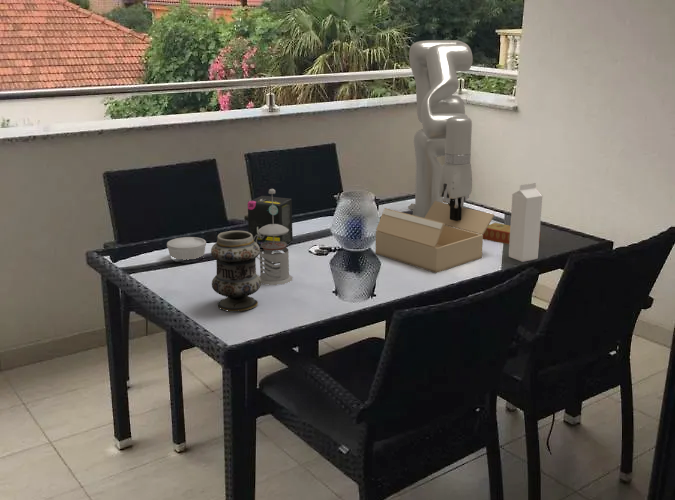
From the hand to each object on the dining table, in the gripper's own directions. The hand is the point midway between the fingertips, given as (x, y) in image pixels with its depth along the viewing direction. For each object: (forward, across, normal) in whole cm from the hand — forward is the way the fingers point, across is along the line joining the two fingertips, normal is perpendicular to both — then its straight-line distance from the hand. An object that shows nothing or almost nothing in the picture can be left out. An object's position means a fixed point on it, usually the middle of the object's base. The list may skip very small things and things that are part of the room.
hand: (455, 219), depth 227 cm
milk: (+9, -8, +19) cm, 23 cm away
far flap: (-1, -1, 0) cm, 2 cm away
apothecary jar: (+10, +75, -5) cm, 76 cm away
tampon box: (+9, +40, -40) cm, 57 cm away
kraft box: (+9, +11, 0) cm, 15 cm away
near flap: (-1, +20, 0) cm, 20 cm away
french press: (+10, +57, -15) cm, 60 cm away
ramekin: (+9, +66, -46) cm, 81 cm away
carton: (+10, -20, +6) cm, 23 cm away
